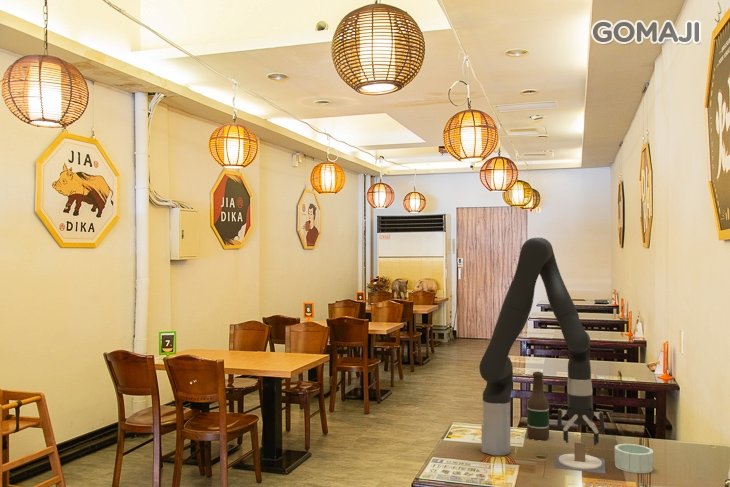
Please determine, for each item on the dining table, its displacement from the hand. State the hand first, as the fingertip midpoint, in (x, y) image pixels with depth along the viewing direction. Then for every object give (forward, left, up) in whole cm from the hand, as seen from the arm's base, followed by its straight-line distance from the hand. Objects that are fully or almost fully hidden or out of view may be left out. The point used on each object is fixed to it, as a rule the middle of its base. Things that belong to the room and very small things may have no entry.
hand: (581, 443), depth 201 cm
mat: (0, 0, -7) cm, 7 cm away
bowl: (+16, +2, -7) cm, 17 cm away
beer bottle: (-15, +26, -7) cm, 31 cm away
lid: (0, 0, -6) cm, 6 cm away
